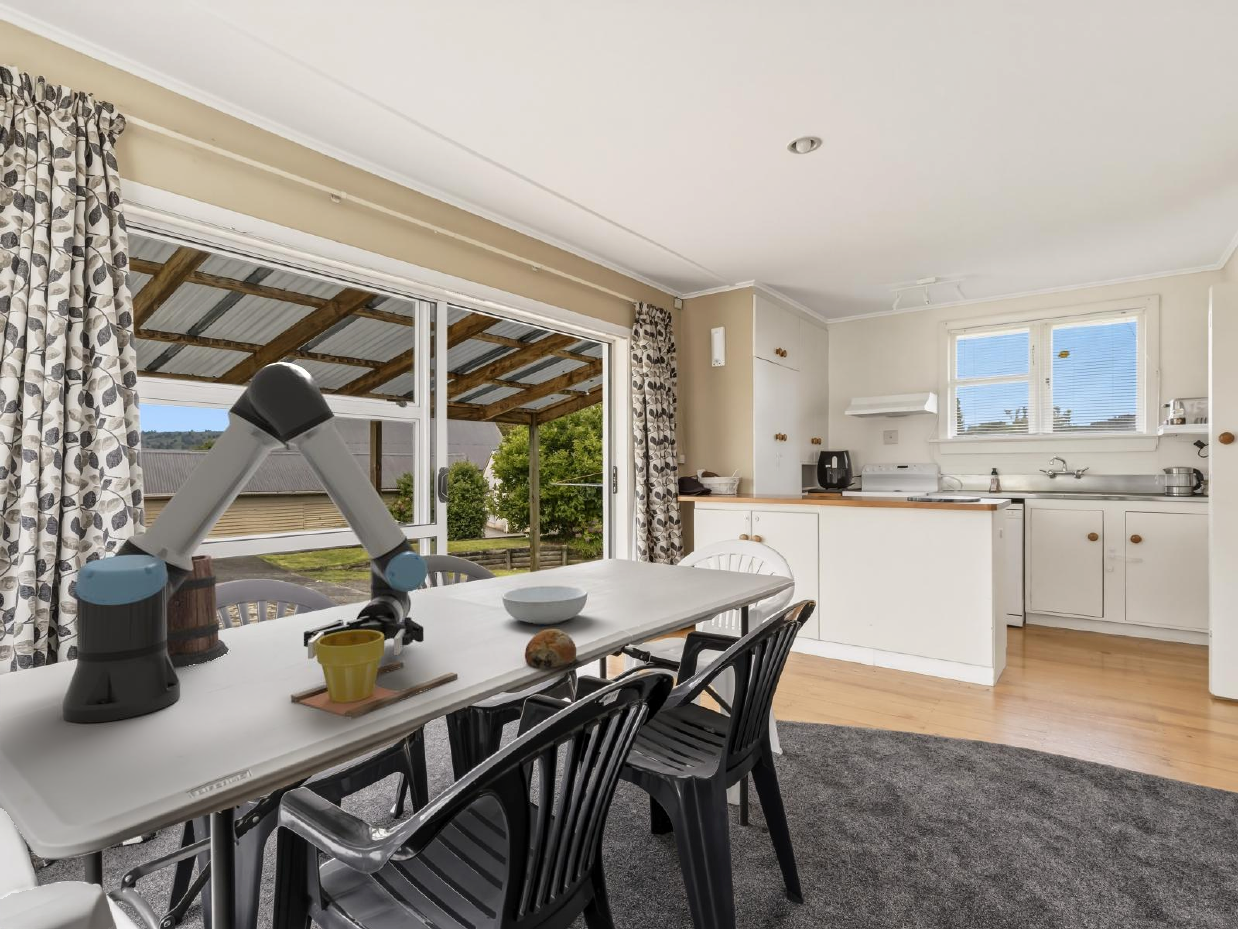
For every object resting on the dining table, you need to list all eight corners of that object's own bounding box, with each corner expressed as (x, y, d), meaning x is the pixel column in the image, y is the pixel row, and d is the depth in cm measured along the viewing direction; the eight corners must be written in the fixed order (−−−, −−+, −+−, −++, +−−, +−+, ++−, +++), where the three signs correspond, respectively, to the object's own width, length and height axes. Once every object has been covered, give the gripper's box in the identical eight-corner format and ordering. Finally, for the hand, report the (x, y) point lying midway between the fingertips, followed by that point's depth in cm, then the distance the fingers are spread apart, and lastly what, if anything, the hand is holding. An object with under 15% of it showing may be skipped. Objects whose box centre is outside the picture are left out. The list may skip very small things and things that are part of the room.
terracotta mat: (343, 715, 103) (343, 713, 103) (299, 702, 108) (299, 701, 108) (400, 694, 112) (400, 692, 112) (357, 683, 118) (357, 681, 118)
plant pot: (351, 711, 104) (351, 648, 104) (302, 702, 108) (301, 642, 108) (398, 690, 113) (397, 632, 113) (351, 683, 117) (350, 627, 117)
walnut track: (353, 718, 102) (352, 713, 102) (291, 700, 110) (291, 695, 110) (457, 678, 121) (457, 673, 121) (398, 665, 129) (398, 661, 129)
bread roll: (580, 681, 130) (592, 640, 132) (543, 669, 123) (557, 626, 126) (546, 670, 137) (558, 632, 139) (510, 659, 130) (523, 618, 132)
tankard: (242, 655, 136) (242, 557, 136) (143, 675, 124) (142, 567, 124) (205, 636, 152) (205, 548, 152) (114, 652, 139) (113, 555, 139)
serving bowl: (542, 608, 180) (542, 582, 180) (604, 618, 168) (604, 590, 168) (484, 623, 163) (484, 594, 163) (548, 635, 151) (548, 605, 151)
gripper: (445, 635, 134) (431, 667, 113) (313, 641, 130) (273, 675, 109) (445, 598, 134) (431, 622, 113) (313, 602, 130) (273, 629, 109)
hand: (353, 648), depth 111 cm, fingers open, 13 cm apart
